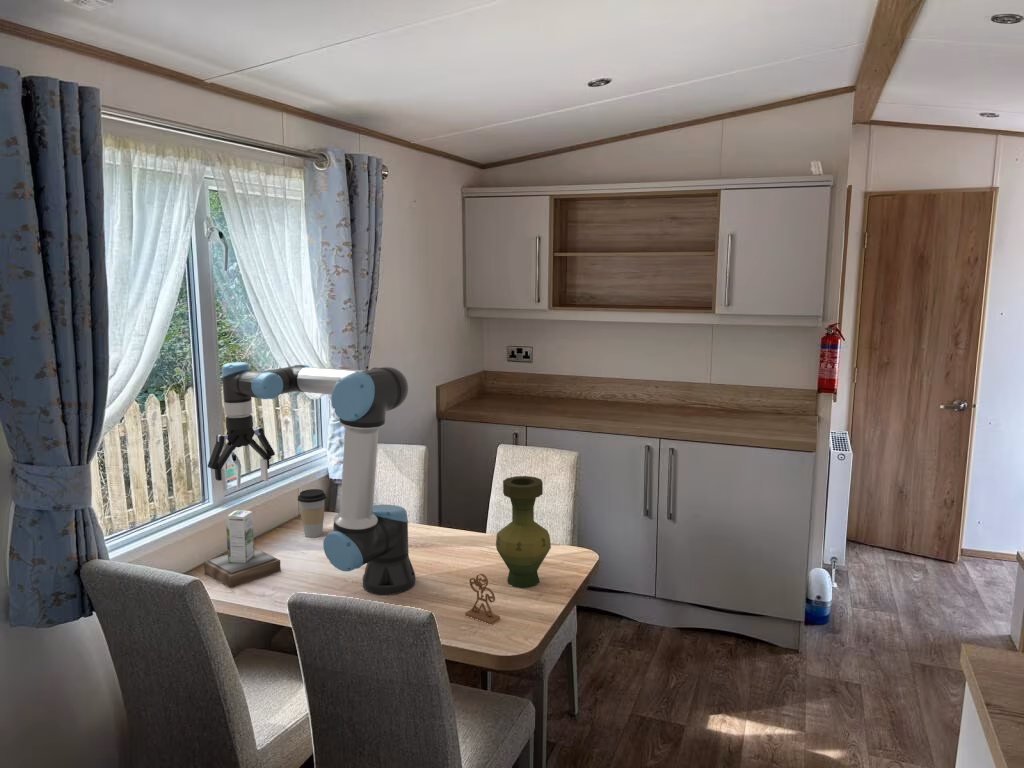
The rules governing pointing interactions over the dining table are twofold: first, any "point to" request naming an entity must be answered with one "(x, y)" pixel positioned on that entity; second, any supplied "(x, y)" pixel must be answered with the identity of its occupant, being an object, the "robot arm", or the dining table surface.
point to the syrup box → (240, 536)
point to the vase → (523, 533)
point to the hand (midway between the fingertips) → (244, 485)
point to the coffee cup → (312, 511)
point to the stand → (242, 568)
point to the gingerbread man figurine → (475, 611)
